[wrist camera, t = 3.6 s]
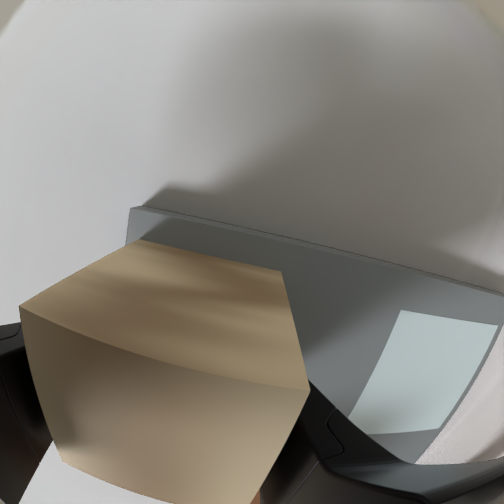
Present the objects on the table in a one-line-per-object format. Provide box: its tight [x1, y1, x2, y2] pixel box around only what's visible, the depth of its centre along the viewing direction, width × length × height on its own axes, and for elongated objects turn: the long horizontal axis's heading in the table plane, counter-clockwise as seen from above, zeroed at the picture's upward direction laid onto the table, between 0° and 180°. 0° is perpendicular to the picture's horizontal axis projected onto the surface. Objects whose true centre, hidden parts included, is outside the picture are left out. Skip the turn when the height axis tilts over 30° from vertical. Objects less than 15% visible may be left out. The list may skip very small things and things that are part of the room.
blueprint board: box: [125, 206, 504, 464], centre depth 12 cm, size 18×18×1 cm
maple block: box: [19, 239, 310, 504], centre depth 7 cm, size 5×5×6 cm
